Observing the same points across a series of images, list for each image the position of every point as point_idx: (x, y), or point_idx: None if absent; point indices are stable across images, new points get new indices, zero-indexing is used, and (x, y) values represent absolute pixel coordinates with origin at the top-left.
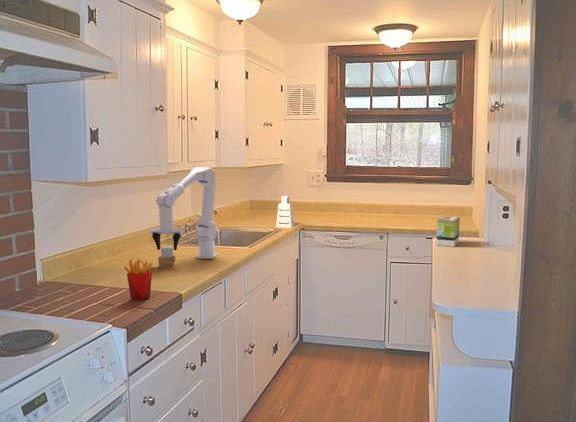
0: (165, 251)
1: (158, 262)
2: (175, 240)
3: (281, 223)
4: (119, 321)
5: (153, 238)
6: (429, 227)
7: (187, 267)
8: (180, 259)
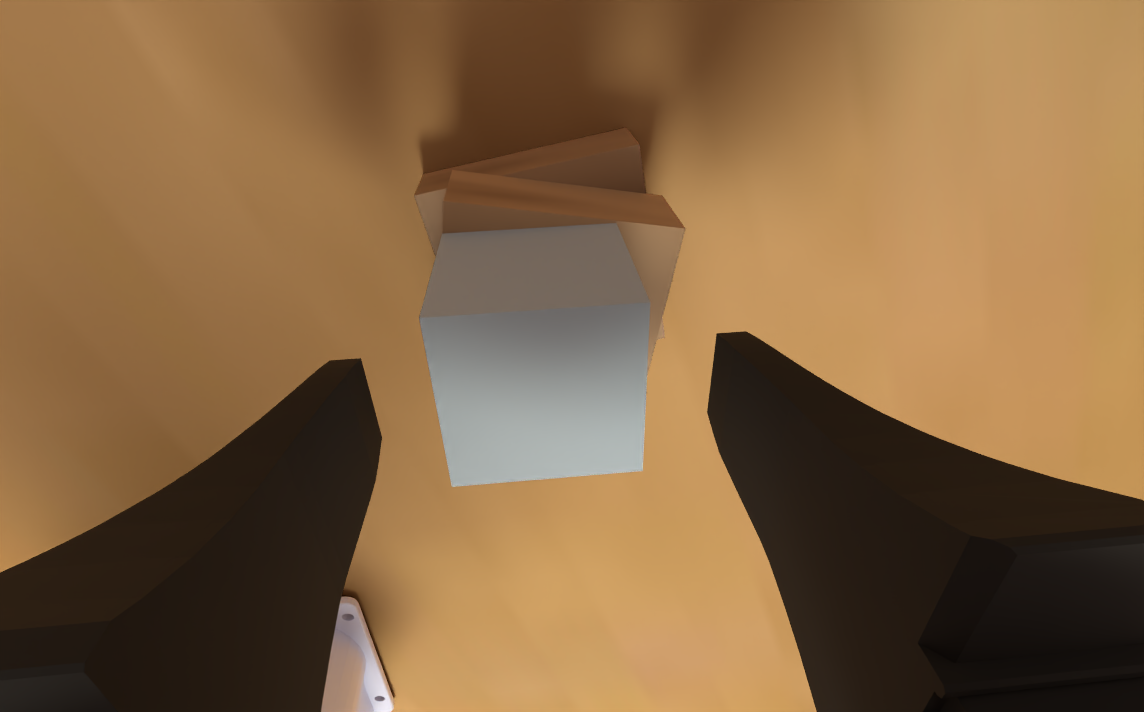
0: (537, 280)
1: (660, 195)
2: (150, 512)
3: None
4: None
5: (1032, 475)
6: None
7: (190, 210)
8: (514, 546)
